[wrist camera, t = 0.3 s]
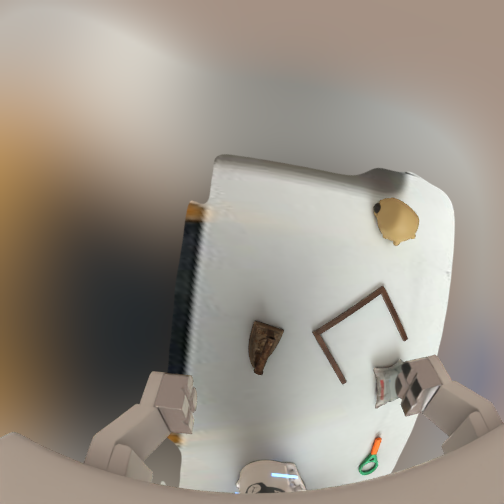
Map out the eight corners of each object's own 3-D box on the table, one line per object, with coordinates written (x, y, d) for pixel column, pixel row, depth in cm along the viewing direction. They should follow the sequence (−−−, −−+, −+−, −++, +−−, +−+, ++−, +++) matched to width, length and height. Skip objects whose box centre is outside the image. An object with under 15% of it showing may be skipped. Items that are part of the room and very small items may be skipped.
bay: (406, 337, 61) (408, 338, 60) (341, 383, 61) (342, 384, 60) (381, 285, 62) (383, 286, 61) (312, 332, 62) (313, 333, 61)
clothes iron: (284, 325, 63) (289, 347, 53) (267, 363, 65) (269, 388, 55) (255, 317, 62) (256, 338, 53) (240, 356, 64) (238, 380, 55)
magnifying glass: (373, 471, 59) (375, 474, 57) (356, 474, 59) (357, 477, 57) (386, 435, 60) (388, 438, 58) (368, 438, 60) (370, 441, 58)
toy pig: (395, 219, 67) (398, 183, 60) (422, 244, 57) (429, 206, 51) (365, 228, 66) (366, 191, 60) (391, 257, 57) (396, 217, 50)
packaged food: (371, 404, 60) (378, 411, 56) (370, 365, 61) (378, 371, 56) (399, 394, 60) (407, 401, 56) (399, 356, 61) (408, 361, 56)
